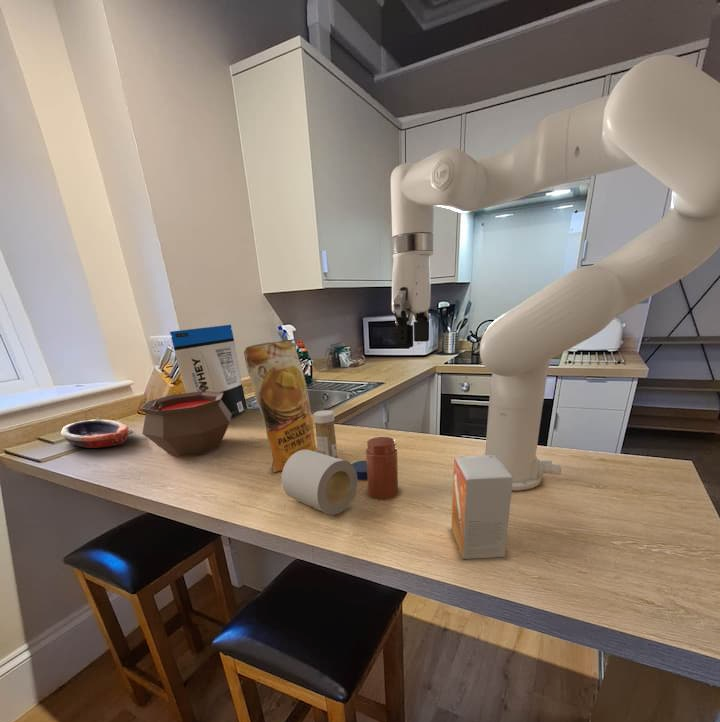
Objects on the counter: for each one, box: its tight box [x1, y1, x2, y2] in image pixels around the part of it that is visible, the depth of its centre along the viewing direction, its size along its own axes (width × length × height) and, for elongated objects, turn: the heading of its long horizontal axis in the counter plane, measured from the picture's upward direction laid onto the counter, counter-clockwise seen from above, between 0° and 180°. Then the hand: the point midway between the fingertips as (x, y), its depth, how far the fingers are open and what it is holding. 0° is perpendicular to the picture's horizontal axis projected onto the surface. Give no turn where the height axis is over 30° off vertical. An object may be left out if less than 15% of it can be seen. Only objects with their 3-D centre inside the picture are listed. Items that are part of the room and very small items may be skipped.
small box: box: [450, 454, 513, 560], centre depth 58 cm, size 8×6×13 cm
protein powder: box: [169, 324, 248, 419], centre depth 134 cm, size 10×24×30 cm, turn 149°
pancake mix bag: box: [243, 339, 317, 473], centre depth 91 cm, size 7×19×28 cm, turn 148°
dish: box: [60, 417, 129, 449], centre depth 122 cm, size 16×31×5 cm, turn 52°
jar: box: [365, 436, 399, 500], centre depth 76 cm, size 6×6×11 cm
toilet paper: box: [281, 450, 359, 516], centre depth 73 cm, size 10×10×10 cm
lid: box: [351, 459, 367, 481], centre depth 86 cm, size 7×7×2 cm
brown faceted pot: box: [138, 382, 232, 458], centre depth 108 cm, size 24×24×16 cm
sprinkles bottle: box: [312, 409, 339, 459], centre depth 88 cm, size 5×5×14 cm
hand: (413, 344), depth 80 cm, fingers open, 9 cm apart
